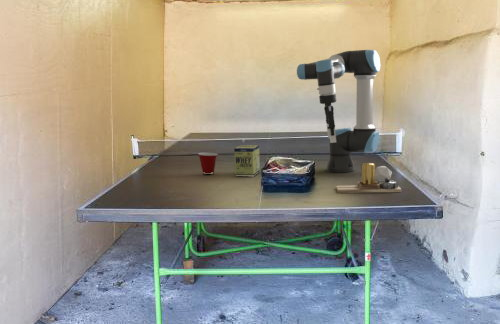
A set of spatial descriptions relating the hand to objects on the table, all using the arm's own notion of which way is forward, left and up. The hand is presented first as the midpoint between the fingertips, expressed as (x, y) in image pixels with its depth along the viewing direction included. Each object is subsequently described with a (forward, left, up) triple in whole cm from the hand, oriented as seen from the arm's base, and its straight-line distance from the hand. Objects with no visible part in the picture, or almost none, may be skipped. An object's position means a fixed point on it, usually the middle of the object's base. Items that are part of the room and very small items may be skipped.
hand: (332, 140), depth 249 cm
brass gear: (+6, +16, -22) cm, 27 cm away
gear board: (+6, +16, -23) cm, 28 cm away
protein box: (-40, -43, -23) cm, 63 cm away
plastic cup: (-43, -65, -23) cm, 81 cm away
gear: (+6, +24, -22) cm, 33 cm away
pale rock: (-12, +25, -23) cm, 36 cm away
